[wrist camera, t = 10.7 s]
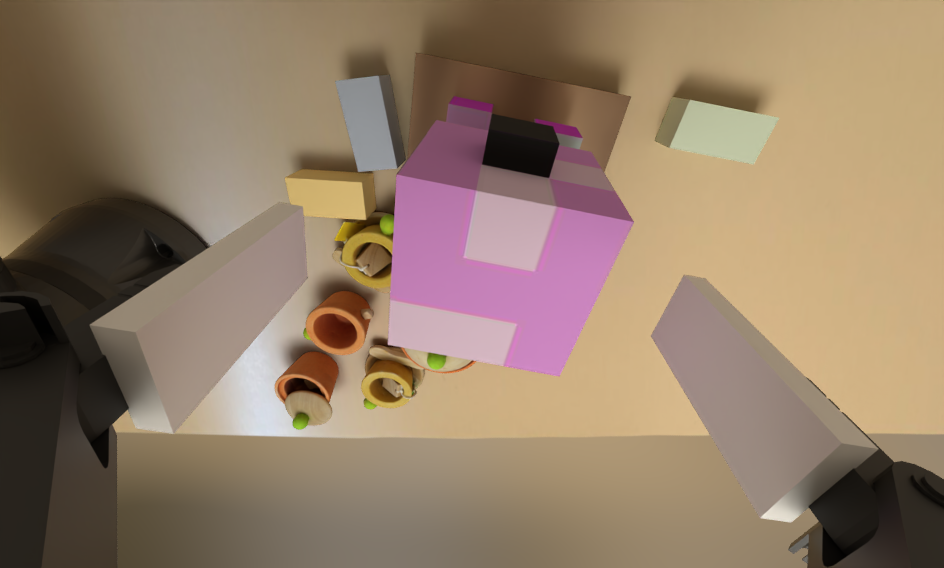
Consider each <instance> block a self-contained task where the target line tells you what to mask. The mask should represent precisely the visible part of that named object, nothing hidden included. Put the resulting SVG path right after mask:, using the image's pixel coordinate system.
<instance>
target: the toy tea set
mask: <svg viewBox="0 0 944 568" xmlns="http://www.w3.org/2000/svg"><path fill="white" fill-rule="evenodd" d="M393 233H394V215H392V214H389V213H383V212H373V213H372V214H371V215H370V216H369V217H368V218H367V219H366V220H359V219H356V220H355V221H354V222H353V223H351V222H343V224H342V226H341V228H340V230H339V232H338V234H337V236H336V237H335V239H334V240H335V241H343V242H344V244H345V245H344V247H343V248H337V249H336V250H335V251H334V253H333V255H332V256H333V259H334V260H335V261H336V262H338V263H339V264H341V265H342V266H344V267H345V269H346V270H347V272H348V273H349V275H350V276H351V277H352V278H354V279H355V280H356V281H357V282H359V283H361V284H363V285H365V286H368V287H371V288H374V289H375V290H377V291H379V292H382V293H389V292H390V291H391V272H392V252H393ZM373 315H374V312H373V310H372V309H370V306H369V304H368V303H367V302H366V300H365V299H364V298H363V297H361V296H360V295H358V294H356V293H353V292H350V291H339V292H336V293H334V294H332V295H331V296H330V297H328V298H327V299H326V300H325V301H324V302H323V303H321V304H320V305H319V306H318V307H317V308H315V309H314V310H313V311H312V312H311V313H310V314H309V316H308V317H307V320H306V328H305V329H304V332H303V334H304V337H305V338H306V339H308V340H312V341H313V342H314V343H315V345H316V346H318V347H319V348H321V349H322V350H324V351H326V352H328V353H332V354H337V355H347V354H351V353H354V352H356V351H358V350H359V349H360V348H361V347H362V345H363V344H364V341H365V338H366V334H367V330H368V326H369V322H370V319H371V318H372V317H373ZM369 353H370V355H369V357H368V358H367V360H366V363H365V372H366V376H365V378H364V379H363V381H362V384H361V389H362V392H363V394H364V396H365V397H366V398H365V399H364V406H365V407H366V408H367V409H374V408H375V407H376V406H380V407H384V408H397V407H400V406H403V405H405V404H406V403H407V402H408V401H409V400H410V399H412V398H413V397H414V396H415V395H416V393H417V391H416V390H415V389H417V388H418V387H419V386H420V385H421V383H422V381H423V378H424V369H426V370H429V371H433V372H438V373H454V372H459V371H462V370H464V369H467V368H468V367H470V366H472V365H473V364H474V363H475V362H476V361H473V360H468V359H462V358H457V357H451V356H446V355H441V354H435V353H430V352H424V351H419V350H414V349H408V348H403V347H401V349H400V348H395V347H385V346H382V345H374V346H372V347H371V348H370V349H369ZM337 376H338V366H337V364H336V362H335V361H334V360H333V359H332V358H331V357H329V356H328V355H326V354H324V353H320V352H315V351H314V352H307V353H304V354H303V355H302V356H301V357H300V358H299V359H298V360H297V361H296V362H295V363H294V364H292V365H291V366H290V367H289V368H288V369H287V370H286V371H285V372H284V373H283V375H282V376H281V377H279V378H278V380H277V381H276V383H275V392H276V395H277V397H278V398H279V399H280V400H281V401H282V402H283V403H284V404H285V407H286V410H287V412H288V413H289V415H290V416H291V417H292V418H293V426H294V428H296V429H298V430H299V429H303V428H305V427H306V426H307V425H321V424H324V423H326V422H327V421H328V420H329V419H330V418H331V416H332V408H331V406H330V404H329V402H330V399H331V395H332V392H333V389H334V386H335V383H336V379H337ZM414 392H415V393H414Z"/></svg>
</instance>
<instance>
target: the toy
mask: <svg viewBox="0 0 944 568" xmlns="http://www.w3.org/2000/svg"><path fill="white" fill-rule="evenodd" d="M493 106H494V104H489V103H485V102H480V101H475V100H470V99H465V98H461V97H456V96H454V97H453V98H452V99H451V101H450V102H449V104H448V111H447V119H446V122H444V121H439V120H436V121H435V123H434V124H433V125H432V127H431V128H430V130H429V131H428V132H427V134H426V135H425V136H424V138H423V139H422V140H421V142H420V143H419V145H418V146H417V147H416V149H415V150H414V151H413V153H412V154H411V156H410V157H409V158H408V160H407V161H406V162H405V164H404V165H403V166H402V168H401V169H400V171H399V172H398V173H397V175H396V194H395V214H394V233H393V252H392V272H391V291H390V310H389V330H388V345H392V346H397V347H403V348H408V349H414V350H419V351H424V352H430V353H435V354H441V355H446V356H451V357H457V358H462V359H468V360H473V361H479V362H484V363H489V364H495V365H500V366H506V367H511V368H517V369H522V370H527V371H533V372H538V373H544V374H549V375H554V376H560V374H561V372H562V370H563V368H564V366H565V364H566V362H567V360H568V357H569V355H570V353H571V351H572V349H573V347H574V345H575V343H576V341H577V339H578V337H579V335H580V333H581V331H582V329H583V326H584V324H585V322H586V320H587V318H588V316H589V314H590V312H591V310H592V308H593V306H594V304H595V302H596V300H597V298H598V295H599V293H600V291H601V289H602V287H603V285H604V283H605V281H606V279H607V277H608V275H609V273H610V271H611V269H612V267H613V264H614V262H615V260H616V258H617V256H618V254H619V252H620V250H621V248H622V246H623V244H624V242H625V240H626V238H627V236H628V233H629V231H630V229H631V227H632V225H633V223H634V221H633V220H632V218H631V216H630V215H629V213H628V211H627V210H626V208H625V206H624V205H623V203H622V202H621V200H620V198H619V197H618V195H617V193H616V192H615V190H614V188H613V187H612V185H611V183H610V182H609V180H608V178H607V177H606V175H605V174H604V172H603V170H602V169H601V167H600V165H599V164H598V162H597V160H596V159H595V157H594V155H593V154H592V152H590V151H585V150H580V146H581V143H582V140H583V137H582V136H581V134H580V132H579V131H578V129H577V127H573V126H568V125H564V124H559V123H554V122H549V121H544V120H539V119H534V122H530V121H525V120H520V119H515V118H511V117H506V116H501V115H496V114H492V111H493Z"/></svg>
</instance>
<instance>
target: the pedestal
mask: <svg viewBox="0 0 944 568" xmlns="http://www.w3.org/2000/svg"><path fill="white" fill-rule="evenodd" d="M454 96H456V97H461V98H465V99H470V100H475V101H480V102H485V103H489V104H494V106H493V111H492V114H496V115H501V116H506V117H511V118H515V119H520V120H525V121H530V122H534V119H539V120H544V121H549V122H554V123H559V124H564V125H568V126H573V127H577V129H578V131H579V132H580V134H581V136H582V137H583V140H582V143H581V146H580V150H585V151H590V152H592V154H593V155H594V157H595V159H596V160H597V162H598V164H599V165H600V167H601V169H602V170H603V172H604V171H605V168H606V166H607V163H608V160H609V157H610V154H611V152H612V149H613V146H614V143H615V140H616V138H617V135H618V132H619V129H620V126H621V124H622V121H623V118H624V115H625V112H626V110H627V107H628V104H629V101H630V98H631V97H630V96H625V95H621V94H616V93H612V92H607V91H602V90H597V89H592V88H587V87H582V86H577V85H573V84H568V83H563V82H558V81H553V80H548V79H543V78H538V77H533V76H529V75H524V74H519V73H514V72H509V71H504V70H499V69H494V68H489V67H485V66H480V65H475V64H470V63H465V62H460V61H455V60H450V59H446V58H441V57H436V56H431V55H426V54H420V53H416V58H415V71H414V83H413V95H412V108H411V120H410V132H409V144H408V157H407V160H408V158H409V157H410V156H411V154H412V153H413V151H414V150H415V149H416V147H417V146H418V145H419V143H420V142H421V140H422V139H423V138H424V136H425V135H426V134H427V132H428V131H429V130H430V128H431V127H432V125H433V124H434V123H435V121H436V120H439V121H444V122H446V119H447V111H448V104H449V102H450V101H451V99H452V98H453V97H454Z"/></svg>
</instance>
